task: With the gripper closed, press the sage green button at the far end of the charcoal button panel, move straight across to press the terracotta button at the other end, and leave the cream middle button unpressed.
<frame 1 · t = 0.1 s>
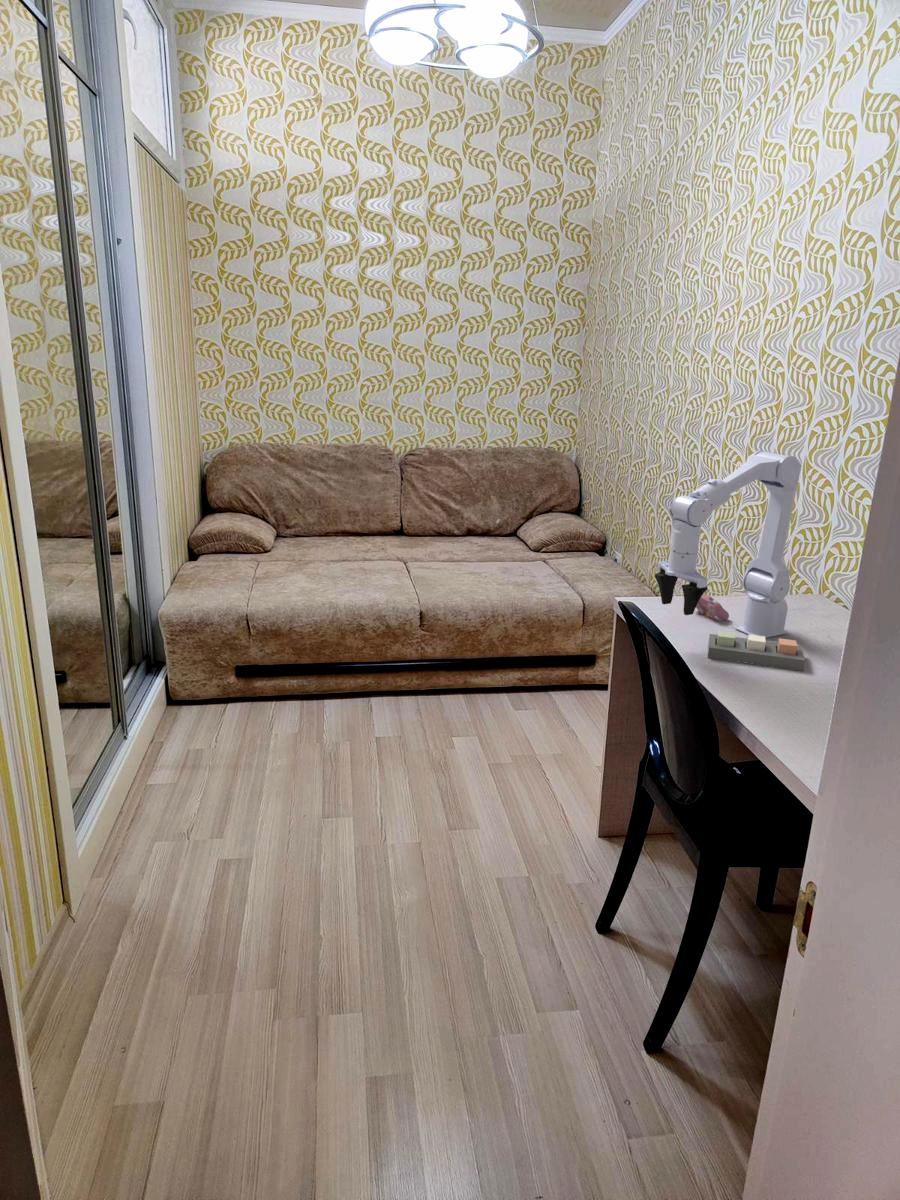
hand: (677, 608, 180), 10 cm above the table, tool pointing down, fingers open, 7 cm apart
terracotta button: (786, 648, 178), point 3 cm above the table, slide at 0.0 cm
button panel: (754, 656, 181), on the table
sage button: (725, 640, 181), point 3 cm above the table, slide at 0.0 cm
pinkish-red lumpy piece: (707, 616, 206), on the table
cream button: (755, 644, 180), point 3 cm above the table, slide at 0.0 cm
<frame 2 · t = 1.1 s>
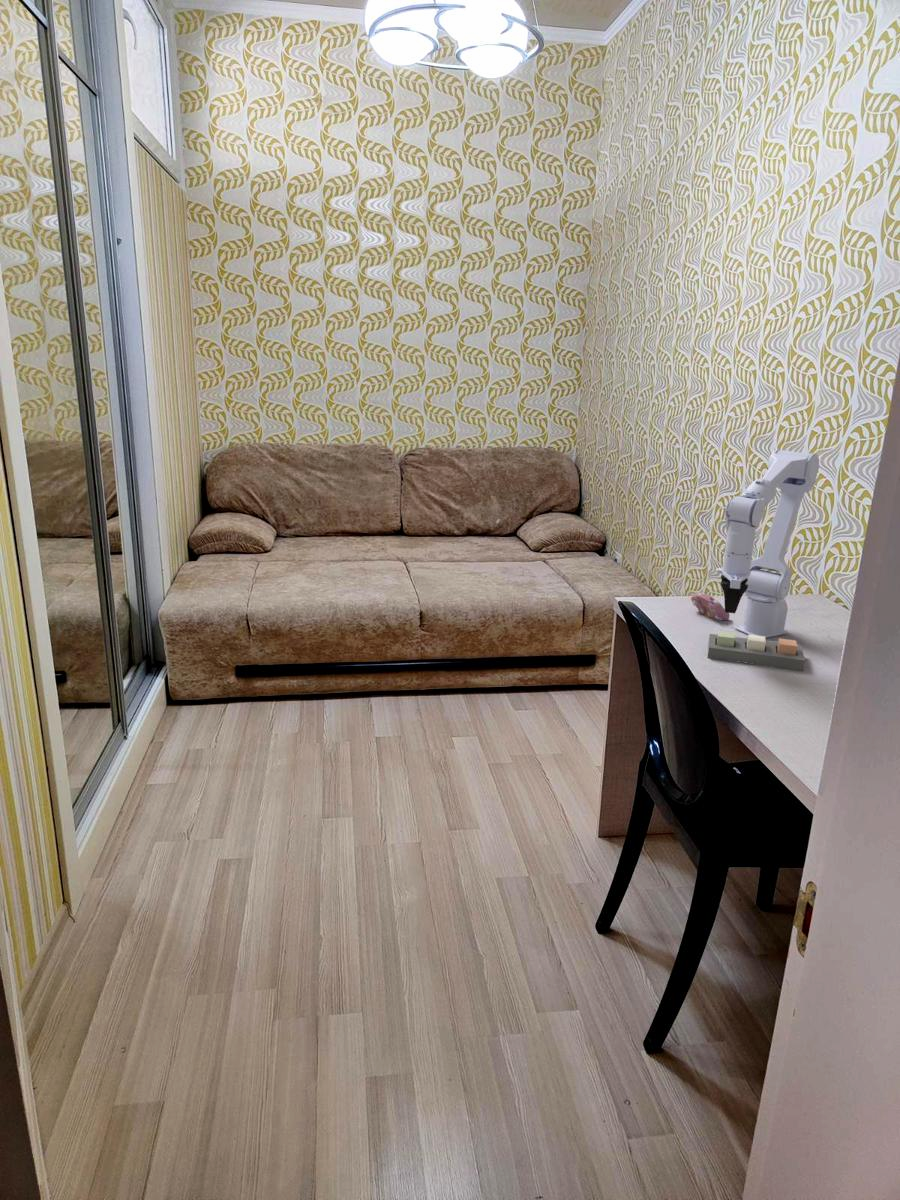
hand: (730, 610, 179), 10 cm above the table, tool pointing down, fingers open, 3 cm apart
nothing on the table moved.
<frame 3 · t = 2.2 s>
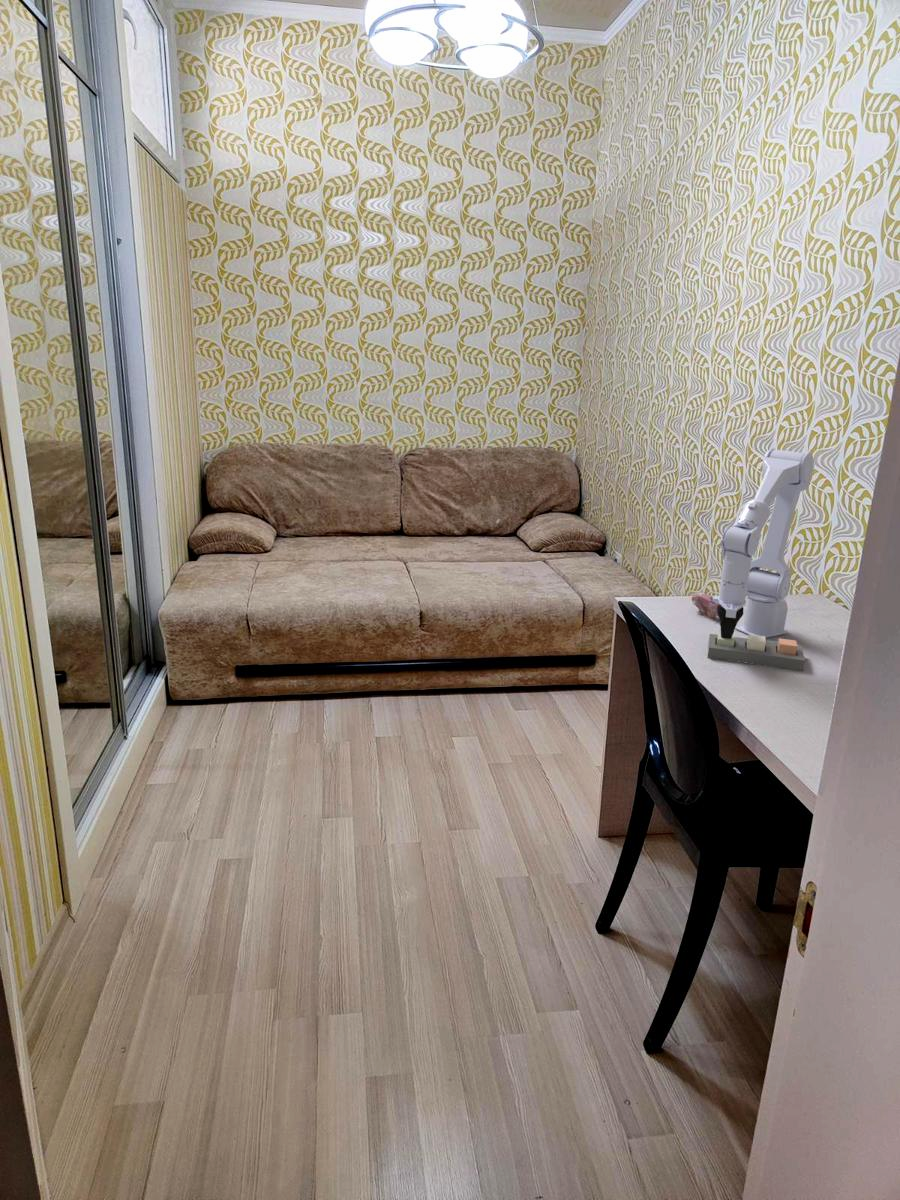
hand: (726, 637, 181), 4 cm above the table, tool pointing down, fingers closed, pressing on sage button
sage button: (725, 643, 182), point 2 cm above the table, slide at 0.7 cm, touching gripper
everything else where it was.
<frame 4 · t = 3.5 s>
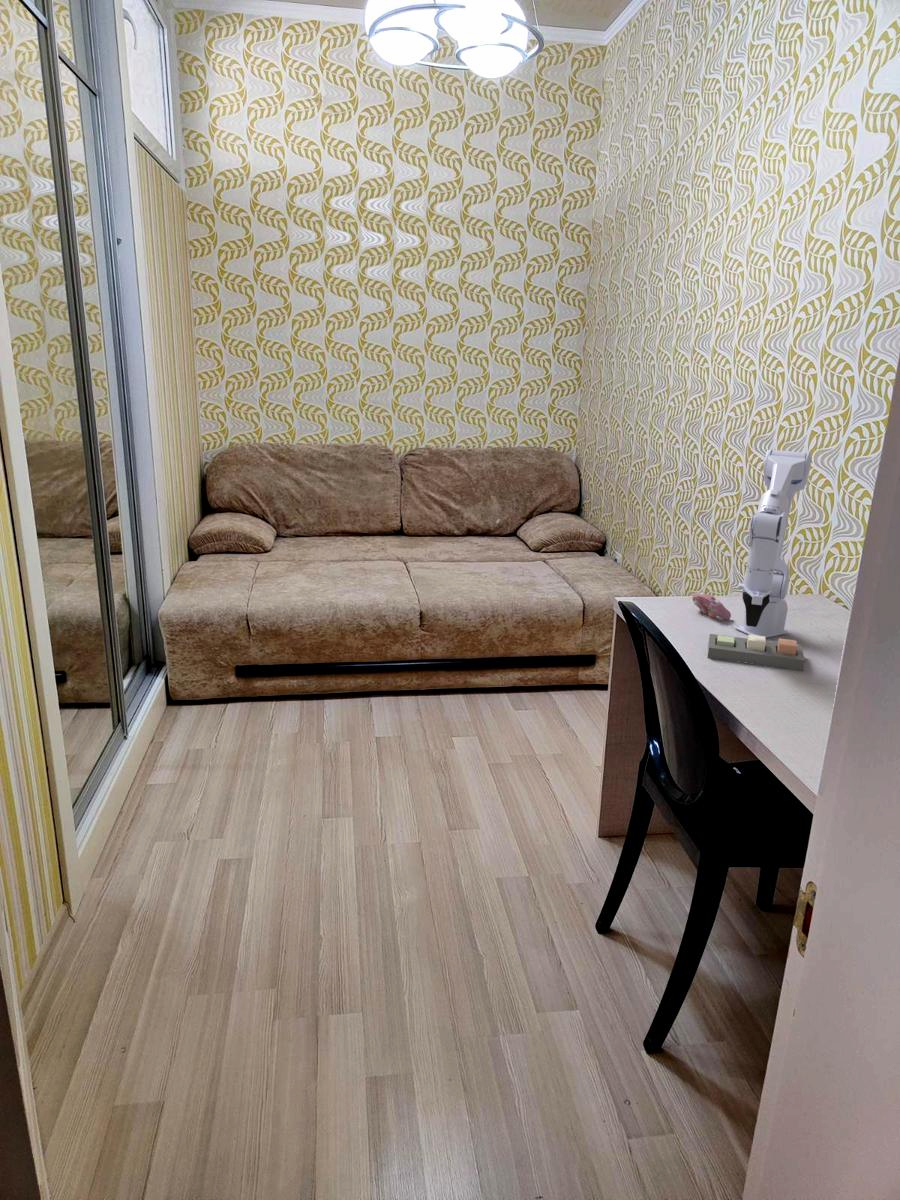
hand: (751, 625, 179), 7 cm above the table, tool pointing down, fingers closed
sage button: (725, 645, 182), point 2 cm above the table, slide at 1.1 cm
everything else where it was.
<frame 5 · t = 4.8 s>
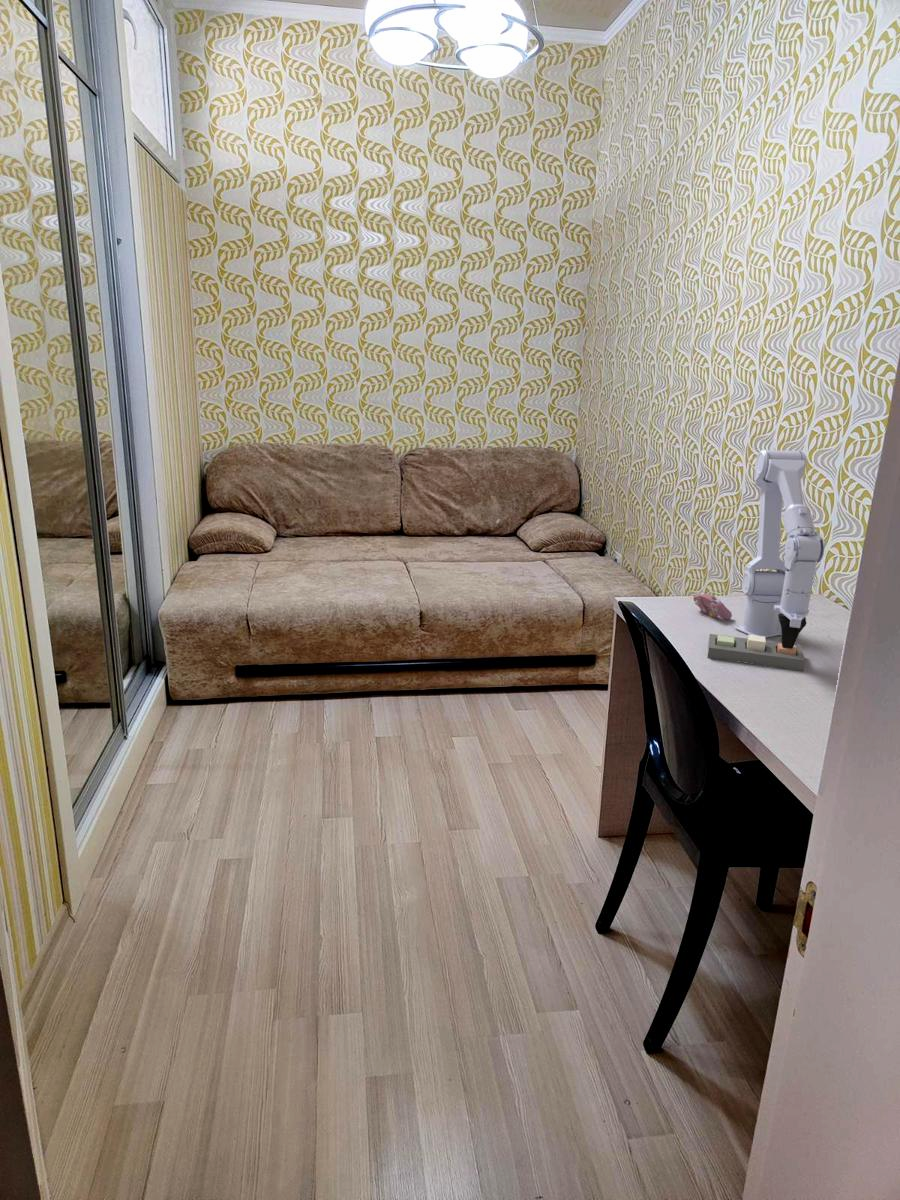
hand: (787, 647, 178), 3 cm above the table, tool pointing down, fingers closed, pressing on terracotta button
terracotta button: (786, 653, 178), point 2 cm above the table, slide at 1.1 cm, touching gripper
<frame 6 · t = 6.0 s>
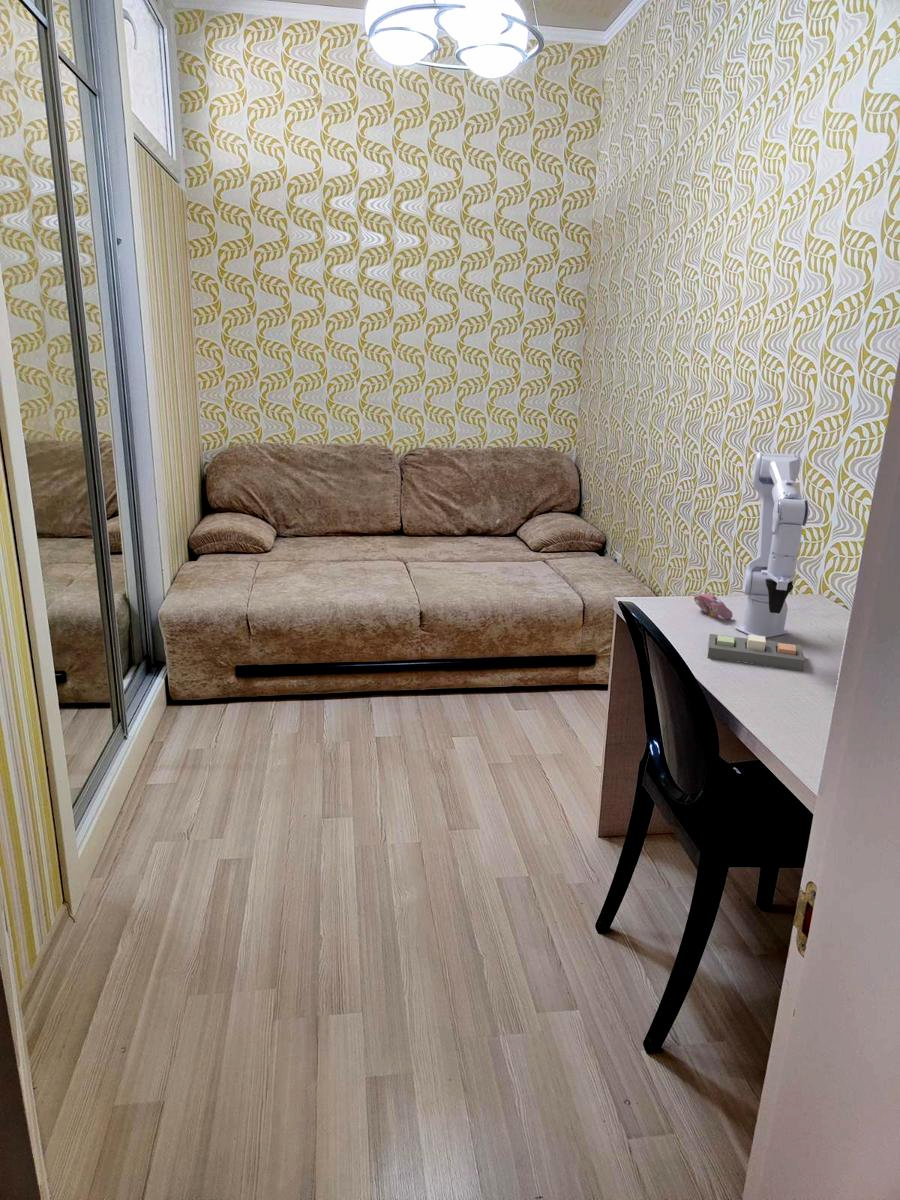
hand: (774, 612, 178), 10 cm above the table, tool pointing down, fingers closed
terracotta button: (786, 653, 178), point 2 cm above the table, slide at 1.1 cm
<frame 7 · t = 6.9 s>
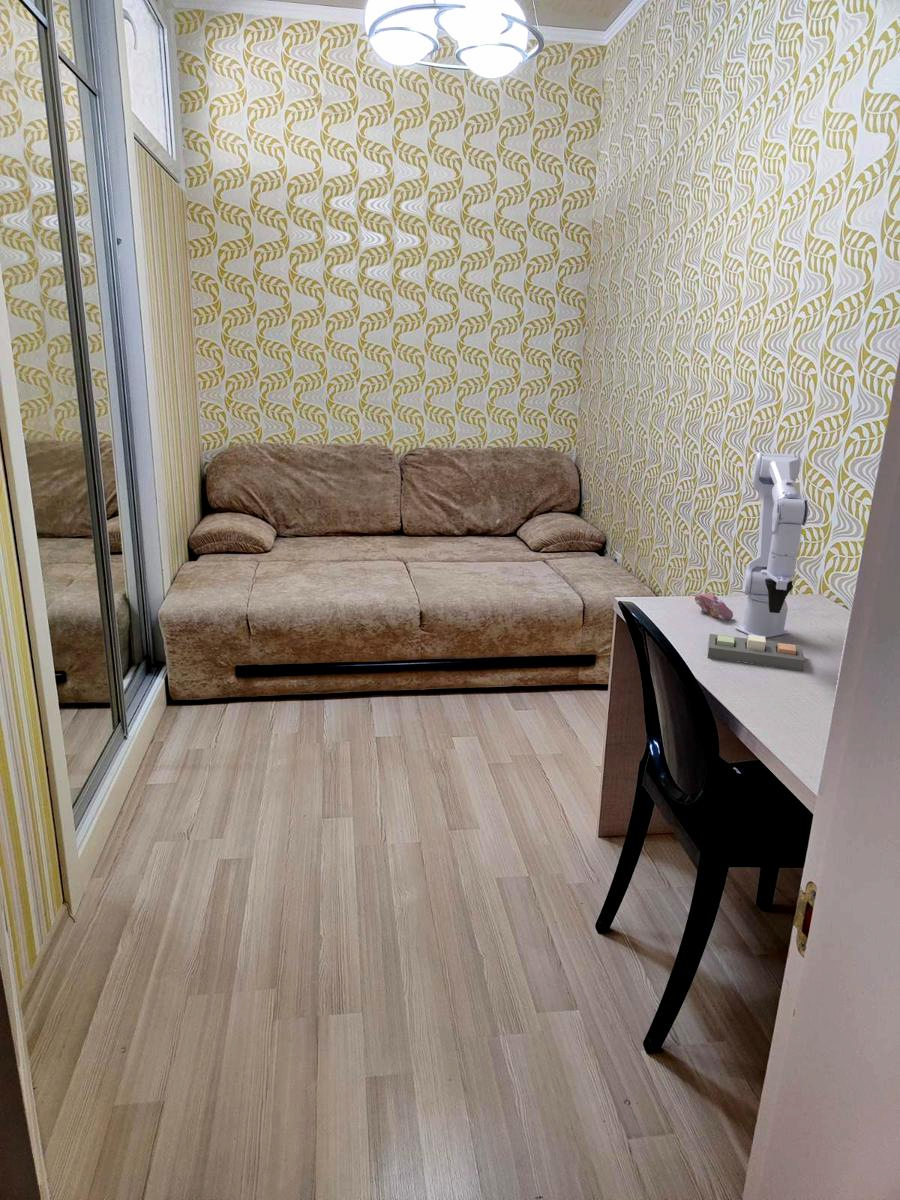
hand: (774, 612, 178), 10 cm above the table, tool pointing down, fingers closed
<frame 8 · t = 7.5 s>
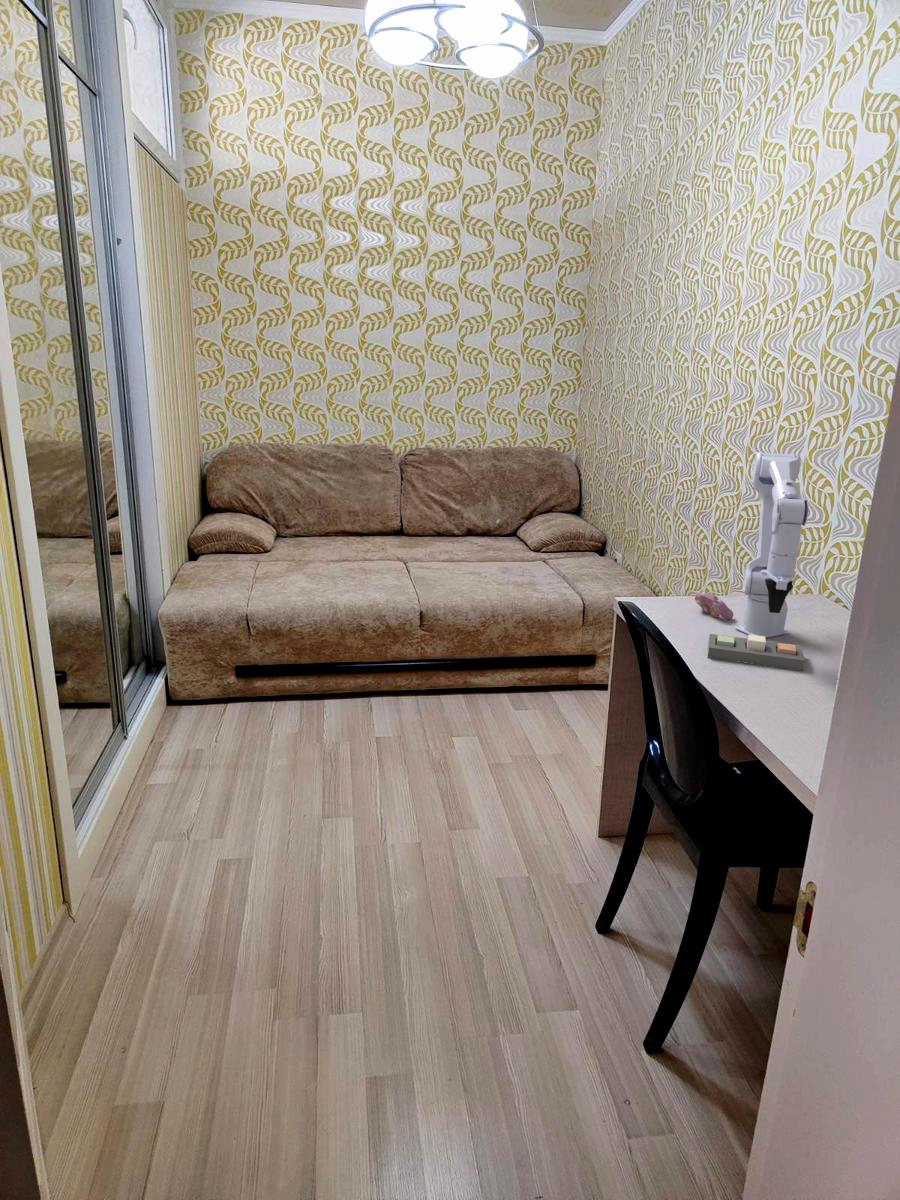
hand: (774, 612, 178), 10 cm above the table, tool pointing down, fingers closed
at the end: sage button slide at 1.1 cm; terracotta button slide at 1.1 cm; cream button slide at 0.0 cm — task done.
